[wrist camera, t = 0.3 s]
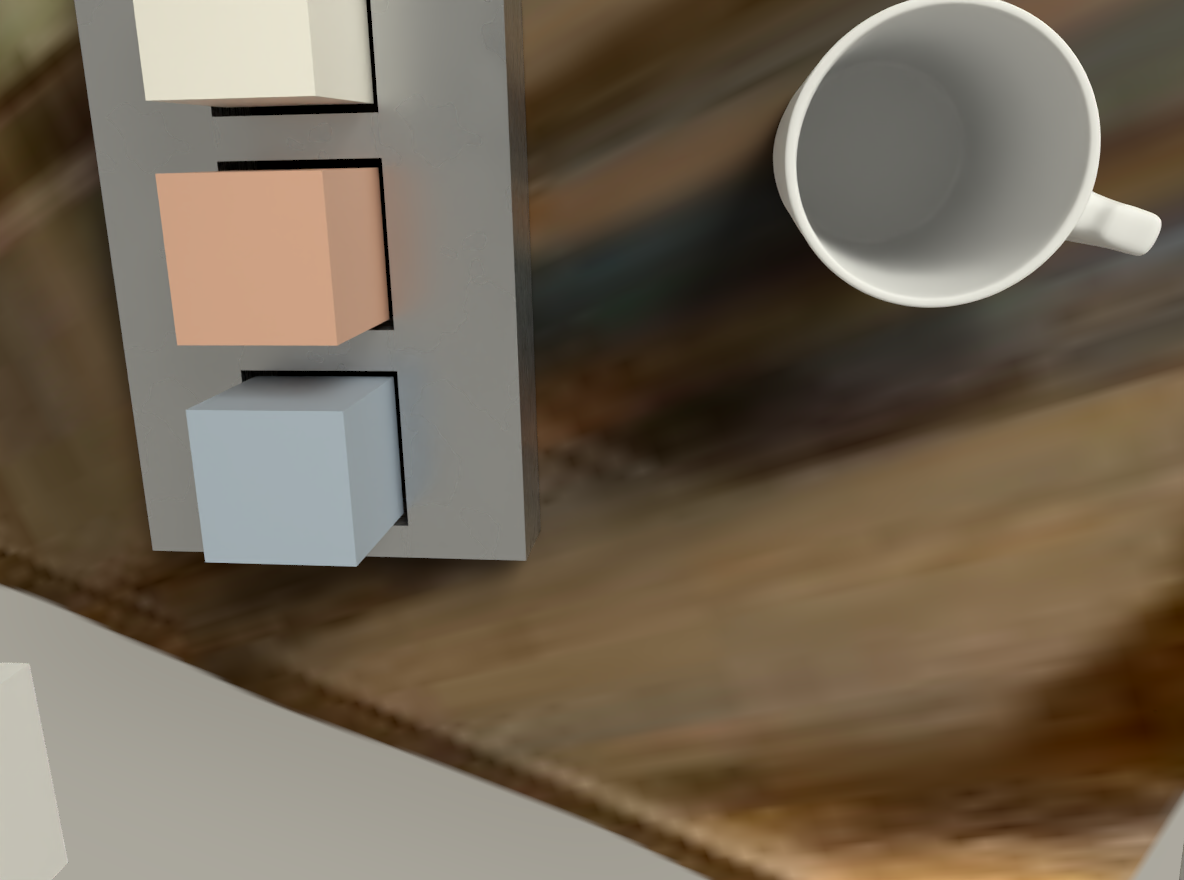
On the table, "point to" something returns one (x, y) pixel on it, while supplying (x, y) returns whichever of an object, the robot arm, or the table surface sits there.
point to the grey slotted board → (416, 257)
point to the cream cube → (254, 52)
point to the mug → (947, 154)
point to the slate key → (296, 469)
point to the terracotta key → (274, 255)
